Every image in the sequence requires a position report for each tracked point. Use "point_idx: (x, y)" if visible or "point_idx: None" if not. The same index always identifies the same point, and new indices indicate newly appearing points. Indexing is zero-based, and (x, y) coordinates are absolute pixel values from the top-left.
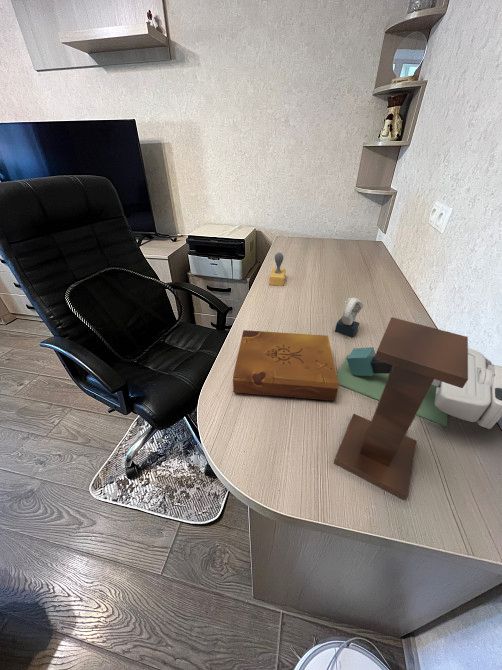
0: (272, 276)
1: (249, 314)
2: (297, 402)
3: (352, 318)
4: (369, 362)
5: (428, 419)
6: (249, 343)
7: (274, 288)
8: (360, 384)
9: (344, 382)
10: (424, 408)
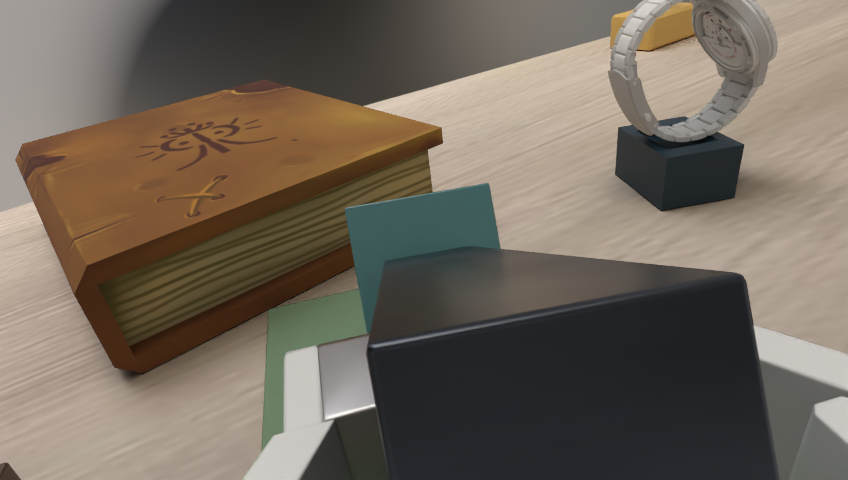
0: (619, 15)
1: (431, 92)
2: (75, 310)
3: (716, 118)
4: (371, 254)
5: None
6: (205, 102)
7: (609, 54)
8: None
9: (295, 335)
10: None
